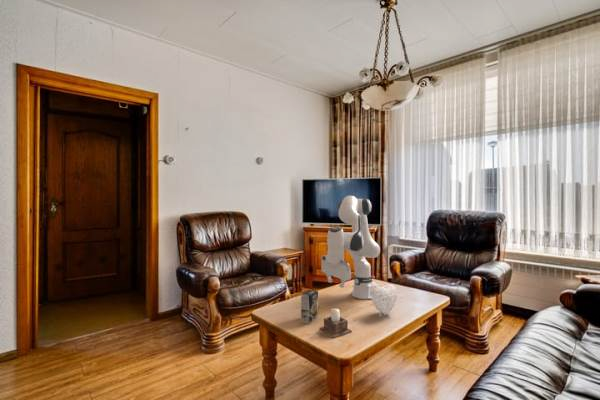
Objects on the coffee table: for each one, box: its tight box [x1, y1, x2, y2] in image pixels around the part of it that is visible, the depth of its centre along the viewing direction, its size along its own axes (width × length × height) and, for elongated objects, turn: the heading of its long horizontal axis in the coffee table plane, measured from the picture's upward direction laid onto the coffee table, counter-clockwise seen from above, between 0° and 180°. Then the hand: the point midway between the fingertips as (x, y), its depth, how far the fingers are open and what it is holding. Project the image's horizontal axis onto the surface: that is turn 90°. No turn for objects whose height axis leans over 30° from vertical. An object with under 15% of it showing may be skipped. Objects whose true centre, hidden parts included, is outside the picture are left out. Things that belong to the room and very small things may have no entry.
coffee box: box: [300, 289, 319, 325], centre depth 169 cm, size 9×6×16 cm
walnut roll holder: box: [319, 315, 353, 339], centre depth 156 cm, size 12×12×6 cm
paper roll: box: [330, 308, 341, 323], centre depth 156 cm, size 4×4×10 cm
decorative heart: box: [371, 284, 398, 316], centre depth 177 cm, size 18×11×17 cm, turn 122°
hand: (335, 284), depth 155 cm, fingers open, 8 cm apart
